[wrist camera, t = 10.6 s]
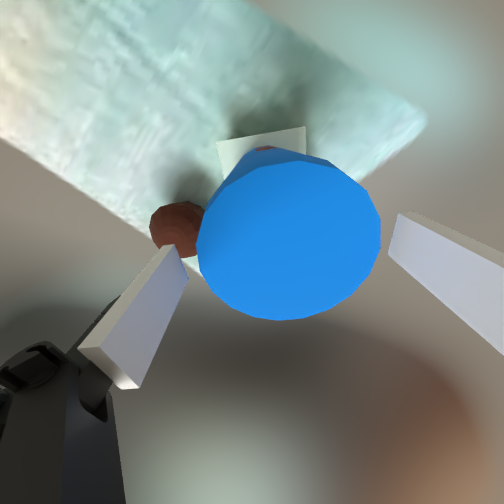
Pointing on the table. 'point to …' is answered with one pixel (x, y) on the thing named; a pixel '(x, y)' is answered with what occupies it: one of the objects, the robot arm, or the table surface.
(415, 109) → the table surface
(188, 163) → the table surface
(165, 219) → the muffin
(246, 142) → the footstool
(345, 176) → the thermos
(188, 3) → the table surface
